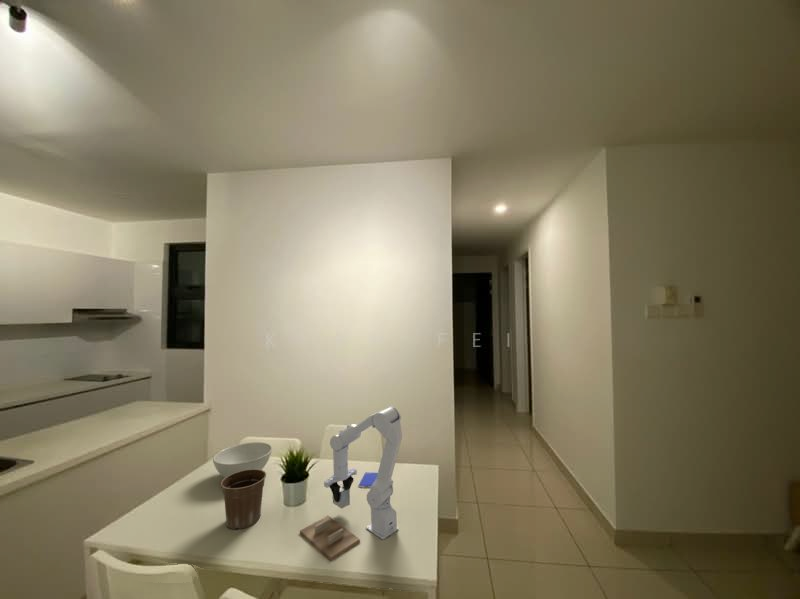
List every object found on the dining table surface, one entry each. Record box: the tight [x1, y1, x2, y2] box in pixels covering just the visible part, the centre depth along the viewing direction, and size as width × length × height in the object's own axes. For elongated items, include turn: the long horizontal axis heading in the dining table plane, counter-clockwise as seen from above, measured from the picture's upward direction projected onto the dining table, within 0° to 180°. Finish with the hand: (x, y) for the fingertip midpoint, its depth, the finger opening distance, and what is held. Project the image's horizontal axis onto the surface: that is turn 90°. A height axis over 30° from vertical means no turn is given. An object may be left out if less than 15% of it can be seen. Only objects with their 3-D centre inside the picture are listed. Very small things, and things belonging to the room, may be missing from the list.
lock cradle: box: [299, 515, 361, 561], centre depth 117 cm, size 20×12×4 cm, turn 45°
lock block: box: [332, 483, 351, 510], centre depth 131 cm, size 6×4×6 cm, turn 45°
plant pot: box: [220, 469, 267, 530], centre depth 129 cm, size 16×16×16 cm
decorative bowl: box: [212, 441, 273, 479], centre depth 164 cm, size 27×27×12 cm
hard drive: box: [357, 471, 378, 489], centre depth 157 cm, size 2×8×12 cm
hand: (341, 498), depth 131 cm, fingers closed on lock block, 4 cm apart
